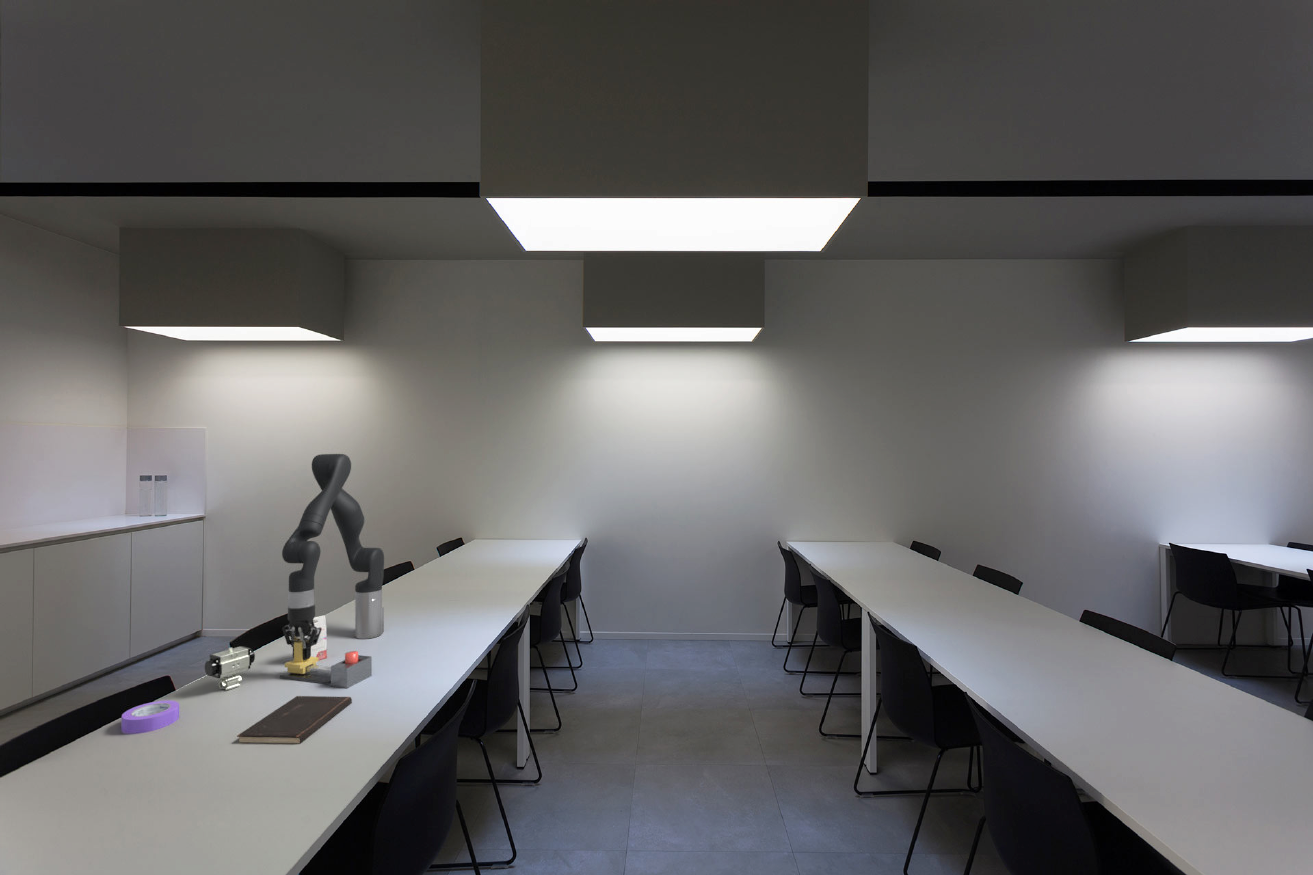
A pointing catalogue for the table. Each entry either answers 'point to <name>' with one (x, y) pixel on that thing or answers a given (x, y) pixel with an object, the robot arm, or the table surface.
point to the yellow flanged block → (299, 660)
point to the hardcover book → (295, 720)
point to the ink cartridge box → (320, 639)
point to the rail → (311, 674)
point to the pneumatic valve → (229, 666)
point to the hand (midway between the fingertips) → (301, 658)
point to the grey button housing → (351, 672)
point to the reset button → (351, 657)
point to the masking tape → (150, 717)
